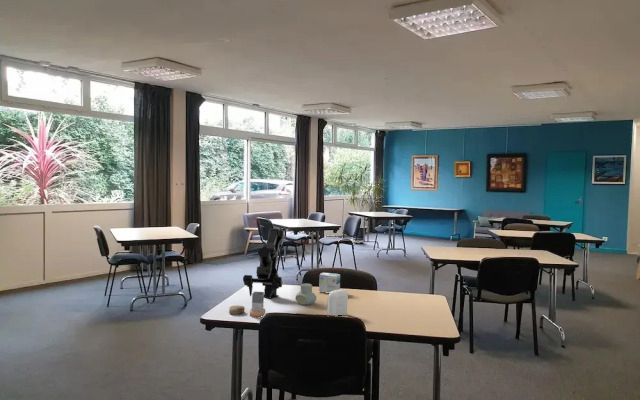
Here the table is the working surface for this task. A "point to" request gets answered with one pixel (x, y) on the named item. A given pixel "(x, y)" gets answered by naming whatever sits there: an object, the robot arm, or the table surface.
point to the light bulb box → (329, 282)
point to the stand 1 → (236, 310)
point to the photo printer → (337, 302)
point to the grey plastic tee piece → (306, 295)
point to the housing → (257, 301)
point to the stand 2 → (257, 313)
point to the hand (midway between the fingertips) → (259, 296)
